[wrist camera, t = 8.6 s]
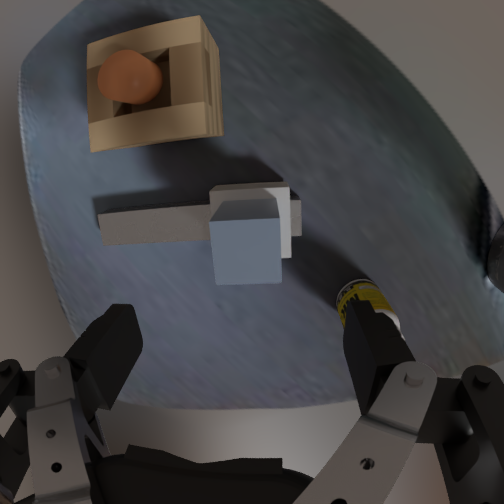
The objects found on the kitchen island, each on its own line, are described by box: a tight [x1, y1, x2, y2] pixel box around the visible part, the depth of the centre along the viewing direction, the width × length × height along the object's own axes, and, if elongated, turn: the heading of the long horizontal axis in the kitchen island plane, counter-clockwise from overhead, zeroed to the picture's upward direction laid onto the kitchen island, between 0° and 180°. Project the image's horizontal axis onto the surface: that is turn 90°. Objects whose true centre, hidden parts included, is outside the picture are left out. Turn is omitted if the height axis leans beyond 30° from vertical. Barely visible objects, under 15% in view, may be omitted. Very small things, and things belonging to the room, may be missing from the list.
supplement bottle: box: [336, 279, 405, 340], centre depth 25 cm, size 5×5×8 cm
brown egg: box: [97, 50, 163, 105], centre depth 15 cm, size 3×3×3 cm
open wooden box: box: [87, 15, 224, 152], centre depth 19 cm, size 8×8×8 cm
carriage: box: [209, 182, 291, 285], centre depth 22 cm, size 6×6×9 cm
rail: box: [98, 196, 301, 246], centre depth 26 cm, size 18×3×2 cm, turn 94°
